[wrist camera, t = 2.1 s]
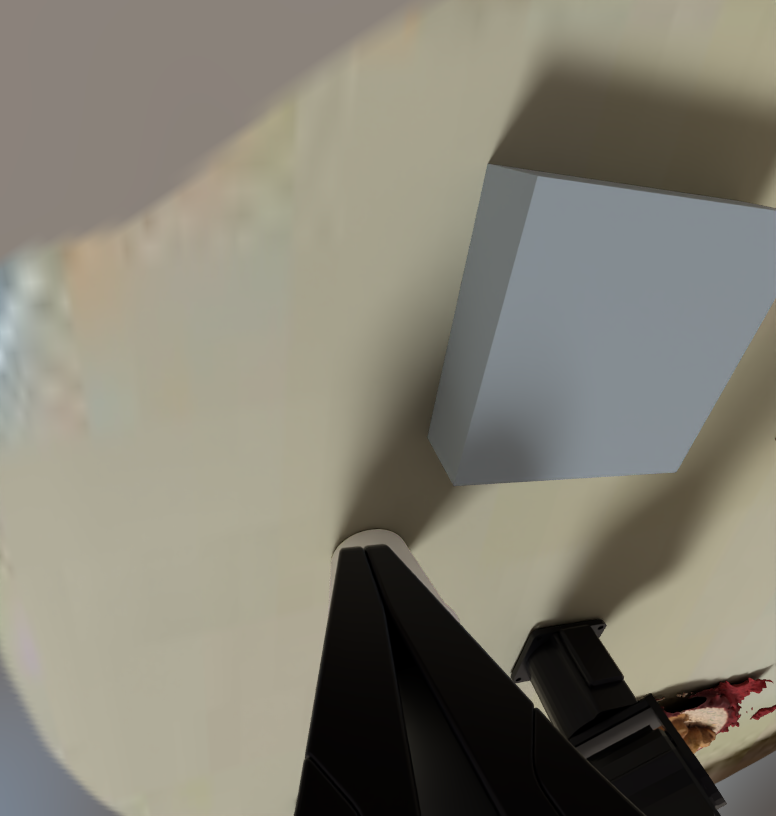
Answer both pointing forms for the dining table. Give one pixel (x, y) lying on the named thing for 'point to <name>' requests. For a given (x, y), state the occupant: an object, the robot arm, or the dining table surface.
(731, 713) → the plate with food
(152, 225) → the dining table surface
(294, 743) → the dining table surface
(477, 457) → the blue-grey square block
